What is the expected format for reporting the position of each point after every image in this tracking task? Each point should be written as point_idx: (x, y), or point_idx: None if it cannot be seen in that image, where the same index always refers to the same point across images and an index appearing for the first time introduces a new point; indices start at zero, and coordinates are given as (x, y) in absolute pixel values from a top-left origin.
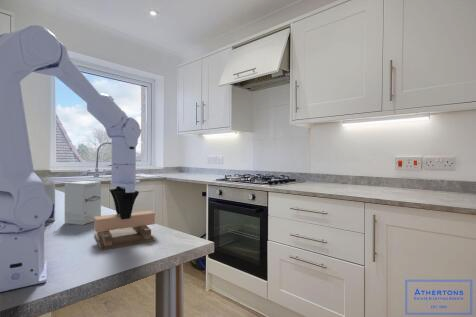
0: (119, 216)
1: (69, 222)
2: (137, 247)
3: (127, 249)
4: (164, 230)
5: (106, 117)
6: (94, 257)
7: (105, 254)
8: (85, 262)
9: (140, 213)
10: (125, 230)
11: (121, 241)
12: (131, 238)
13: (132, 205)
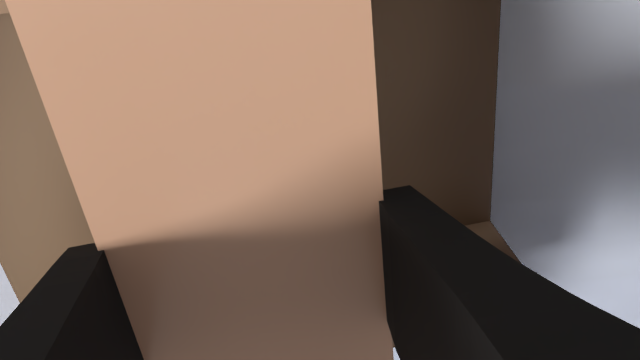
0: (343, 331)
1: None
2: (586, 6)
3: (578, 94)
4: None
5: None
6: (584, 289)
7: (576, 237)
8: (629, 320)
9: (238, 5)
10: (31, 108)
11: (444, 153)
12: (399, 59)
13: (573, 306)
